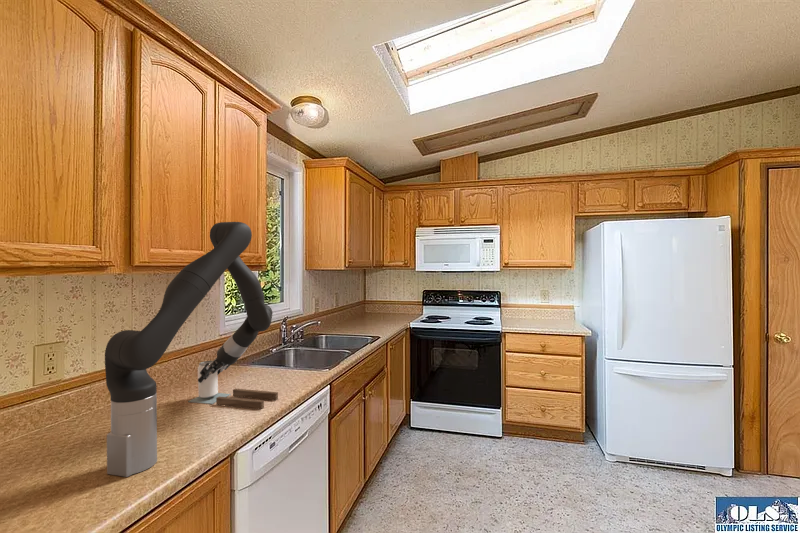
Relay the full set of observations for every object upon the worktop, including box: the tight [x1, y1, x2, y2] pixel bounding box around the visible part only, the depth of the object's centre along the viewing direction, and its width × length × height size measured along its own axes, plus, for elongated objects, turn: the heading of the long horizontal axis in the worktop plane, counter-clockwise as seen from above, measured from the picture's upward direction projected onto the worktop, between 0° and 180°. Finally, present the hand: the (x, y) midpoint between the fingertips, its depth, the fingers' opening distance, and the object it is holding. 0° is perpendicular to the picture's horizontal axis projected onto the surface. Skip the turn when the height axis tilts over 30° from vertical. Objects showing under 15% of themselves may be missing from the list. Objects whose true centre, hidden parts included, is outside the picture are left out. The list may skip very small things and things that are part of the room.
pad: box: [187, 392, 232, 405], centre depth 139 cm, size 10×10×1 cm
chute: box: [215, 388, 279, 410], centre depth 135 cm, size 10×18×2 cm, turn 76°
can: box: [197, 360, 219, 398], centre depth 139 cm, size 6×6×12 cm
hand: (206, 379), depth 139 cm, fingers closed on can, 5 cm apart
